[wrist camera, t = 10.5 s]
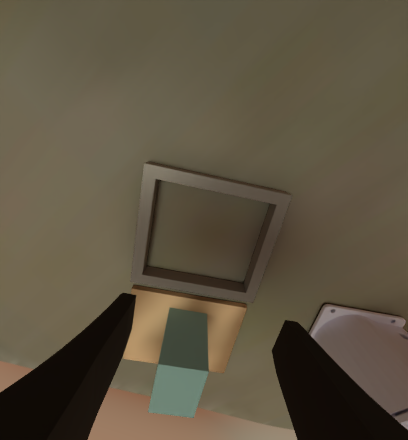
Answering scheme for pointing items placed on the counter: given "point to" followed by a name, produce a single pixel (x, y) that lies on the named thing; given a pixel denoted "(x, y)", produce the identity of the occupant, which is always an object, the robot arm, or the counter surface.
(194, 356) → the block
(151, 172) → the grey flat square frame
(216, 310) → the board
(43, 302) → the counter surface
